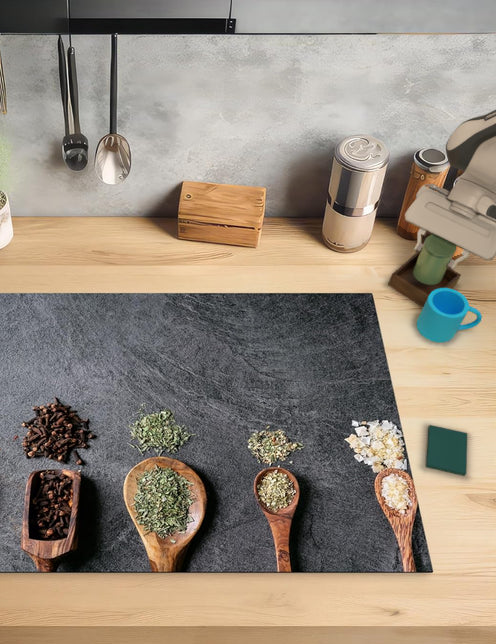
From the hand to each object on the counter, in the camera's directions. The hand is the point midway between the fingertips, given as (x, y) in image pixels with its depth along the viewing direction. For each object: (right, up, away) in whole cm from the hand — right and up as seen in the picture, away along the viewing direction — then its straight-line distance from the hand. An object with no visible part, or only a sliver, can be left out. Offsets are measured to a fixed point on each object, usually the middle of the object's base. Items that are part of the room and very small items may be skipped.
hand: (433, 259), depth 157 cm
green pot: (+1, -3, +4) cm, 5 cm away
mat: (-5, -39, -18) cm, 43 cm away
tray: (0, -5, +7) cm, 9 cm away
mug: (+3, -15, 0) cm, 15 cm away
